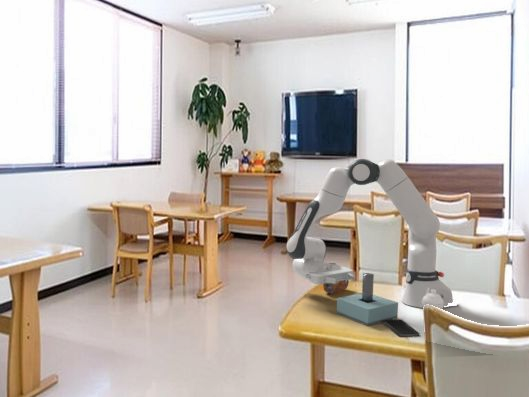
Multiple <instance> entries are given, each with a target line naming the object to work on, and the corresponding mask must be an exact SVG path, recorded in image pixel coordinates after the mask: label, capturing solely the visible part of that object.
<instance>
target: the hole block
mask: <svg viewBox="0 0 529 397" xmlns="http://www.w3.org/2000/svg"><path fill="white" fill-rule="evenodd" d="M398 311H399V302H397V301H394V300H391V299H388V298H385V297H383V296H379V295H375V294H373V302H371V303H366V302H363V301H362V292H360V293H357V294H350V295H347V296H342V297H337V298H336V314H337V315H339V316H342V317H344V318H347V319H349V320H352V321H354V322H357V323H360V324H362V325H365V326H368V327H369V326H372V325H373V326H374V325H376V324H380V323H383V320H397V319H398V315H399V314H398Z"/></svg>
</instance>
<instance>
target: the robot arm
mask: <svg viewBox="0 0 529 397" xmlns="http://www.w3.org/2000/svg"><path fill="white" fill-rule="evenodd" d="M375 182H376V183H377V184H378V185H379V186H380V187H381V189H382V190H383V191H384V193H385V195H386V196H387V197H388V198H389V200H390V201H391V203H392V204H393V205H394V207H395V208H396V210H397V211H398V213H399V214H400V216H401V217H402V218H403V220H404V222H405V223H406V224H407V226H408V233H407V234H408V239H407V240H408V247H407V248H408V249H407V251H408V252H407V253H408V254H407V267H406V270H405V271H406V272H405V288H404V293H403V295H402V299H401V302H402V303H403V304H405V305H407V306H411V307H414V308H420V309H424V308H423V305H422V299H423V297H424V296H425V295H426V294H429V293H431V290H436V294H438V295H440V296H441V298H442V299H443V301H444V306H447V305H448V303H452V302H453V300H454V299H453V292H452V290H451V287H449V286H447V285H446V284H445V283H444V282H443V281H441V279H440V278H444V277H445V273H444V272H442V271H438V270H436V269H437V266H436V265H437V234H438V233H439V231H440V228H441V221H440V219H439V218H438V216H437V215H436V213H435V212H434V211H433V209H432V208H431V206H430V205H429V204H428V203H427V201H426V199H424V197H423V196H422V194H421V193H420V192H419V190H417V188H416V186H415V185H414V183H413V182H412V180H411V179H410V178H409V176H408V175H407V173H405V171H404V170H403V169H402V168H401V167H400V165H399V164H397V162H395V161H394V160H392V159H384V160H382V161H380V162H379V163H375V162H373V161H372V160H370V159H368V158H365V157H359V158H356V159H355V160H353V161H352V162H351V163H350V164H349V166H348V167H346V168H345V167H342V166H336V167H332V168H330V170H329V171H328V173H327V174H326V177H325V178H324V180H323V183H322V185H321V187H320V190H319V192H318V194H317V196H316V197H315V198H314V199H313V200H312V201H310V202H309V203H308V205H307V206H306V207H305V210H304V212H303V213H302V216H301V218H300V219H299V221H298V223H297V225H296V227H295V229H294V231H293V233H292V234H291V236H289V238H288V239H287V241H286V244H285V250H286V252H287V254H288V256H289V257H290V258H291V259H292V260H293V261H292V264H291V266H292V270H293V271H294V273H295V275H297V276H299V277H301V278H304V279H306V280H308V281H309V282H311V283H312V284H316V285H323V284H325V283H333V284H336V283H338V282H337V281H343V280H348V279H349V281H351V282H352V281H355V279H356V277H355V274H354V270H353V269H352V268H349V267H346V266H344V265H340V264H339V263H337V262H335V263H331V262H324V260H325V258H326V254H327V247H326V243H325V241H324V240H323V239H321V238H317V237H310V236H309V233H310V231H311V229H312V228H313V226H314V224H315V222H316V221H317V220H318V219H319V218H321V217H324V216H327V215H330V214H331V215H332V214H334V213H336V212H338V211H340V210H341V208H342V207H343V205H344V203H345V201H346V197H347V195H348V192H349V190H350V188H351V186H353V185H354V184H355V185H358V186H366V185H369V184H372V183H375ZM444 306H443V307H444Z"/></svg>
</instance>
